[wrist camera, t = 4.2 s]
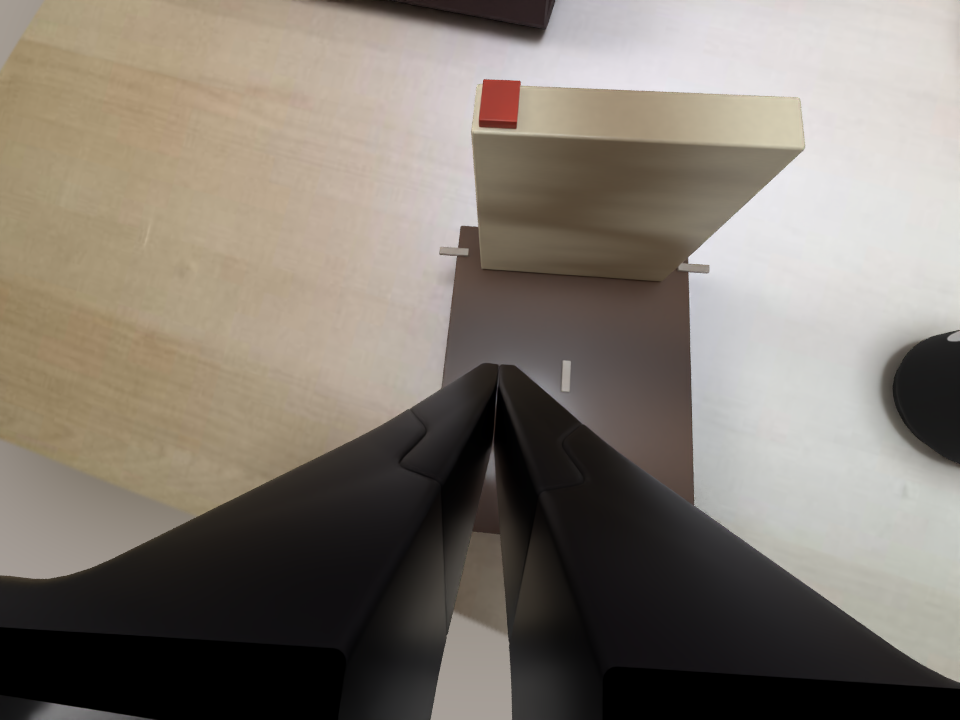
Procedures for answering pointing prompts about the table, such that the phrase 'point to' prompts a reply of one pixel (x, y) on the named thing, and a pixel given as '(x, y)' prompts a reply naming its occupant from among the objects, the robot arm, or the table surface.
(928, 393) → the beverage can
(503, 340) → the brown flat piece
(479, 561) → the table surface
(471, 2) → the book
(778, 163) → the red-cornered cream slab
